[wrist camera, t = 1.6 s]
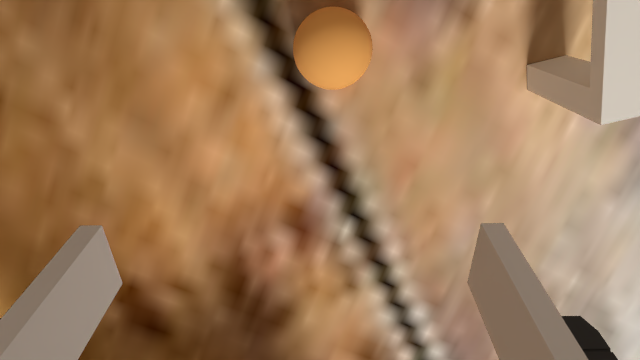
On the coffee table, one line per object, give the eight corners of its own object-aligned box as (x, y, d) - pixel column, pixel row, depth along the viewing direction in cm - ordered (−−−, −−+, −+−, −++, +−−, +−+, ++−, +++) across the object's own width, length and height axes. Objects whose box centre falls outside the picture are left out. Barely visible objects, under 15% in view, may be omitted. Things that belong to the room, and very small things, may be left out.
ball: (305, 88, 32) (304, 106, 27) (285, 15, 30) (281, 21, 25) (373, 70, 32) (384, 86, 27) (359, -5, 30) (368, -2, 25)
